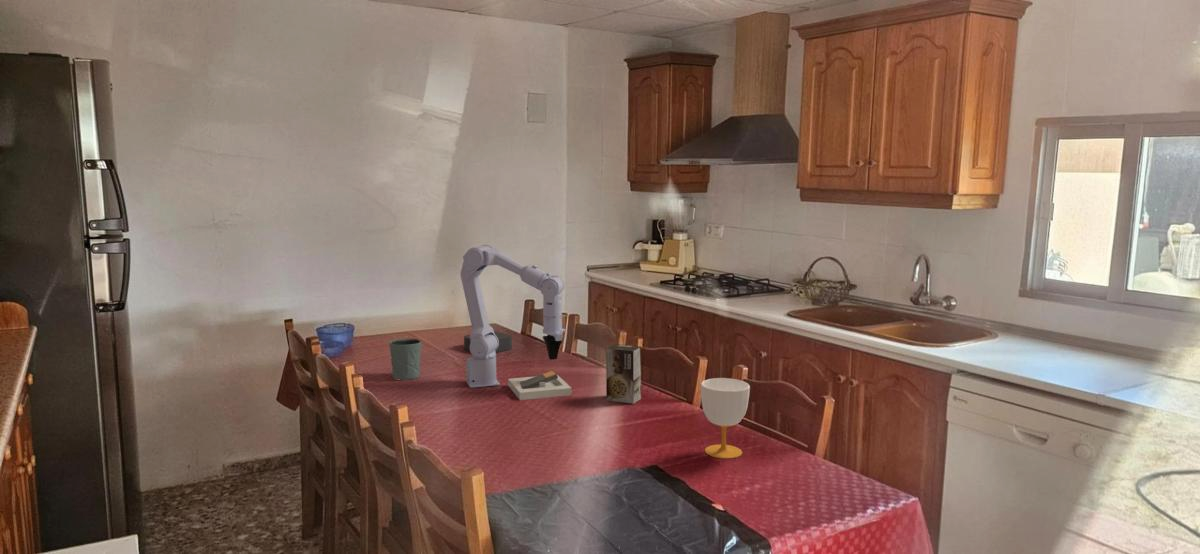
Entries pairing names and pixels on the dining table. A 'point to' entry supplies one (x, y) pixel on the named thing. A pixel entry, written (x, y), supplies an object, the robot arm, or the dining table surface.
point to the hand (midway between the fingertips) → (553, 358)
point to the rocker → (538, 380)
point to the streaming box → (504, 339)
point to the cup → (724, 410)
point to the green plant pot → (405, 358)
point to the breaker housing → (540, 389)
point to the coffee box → (623, 373)
